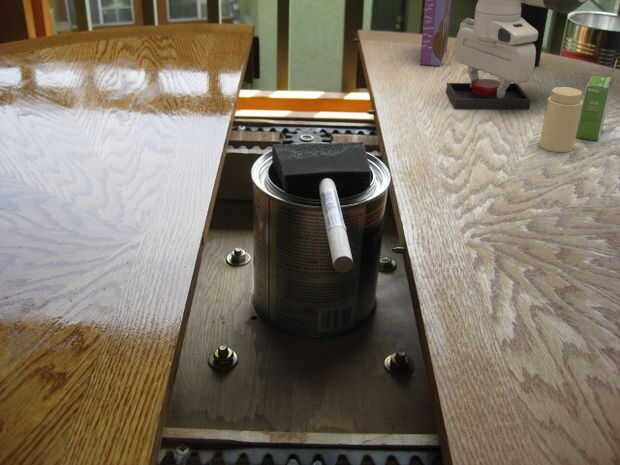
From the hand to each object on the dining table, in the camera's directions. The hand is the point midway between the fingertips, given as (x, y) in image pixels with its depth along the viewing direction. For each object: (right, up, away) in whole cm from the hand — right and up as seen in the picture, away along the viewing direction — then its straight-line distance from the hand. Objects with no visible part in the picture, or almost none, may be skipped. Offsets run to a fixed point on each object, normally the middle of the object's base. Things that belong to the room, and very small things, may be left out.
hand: (486, 92), depth 139 cm
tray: (0, -2, +1) cm, 2 cm away
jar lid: (0, +1, -1) cm, 2 cm away
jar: (+7, -14, -21) cm, 26 cm away
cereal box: (-5, +16, +31) cm, 35 cm away
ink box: (+15, -11, -16) cm, 24 cm away
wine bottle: (+17, +13, +26) cm, 33 cm away
